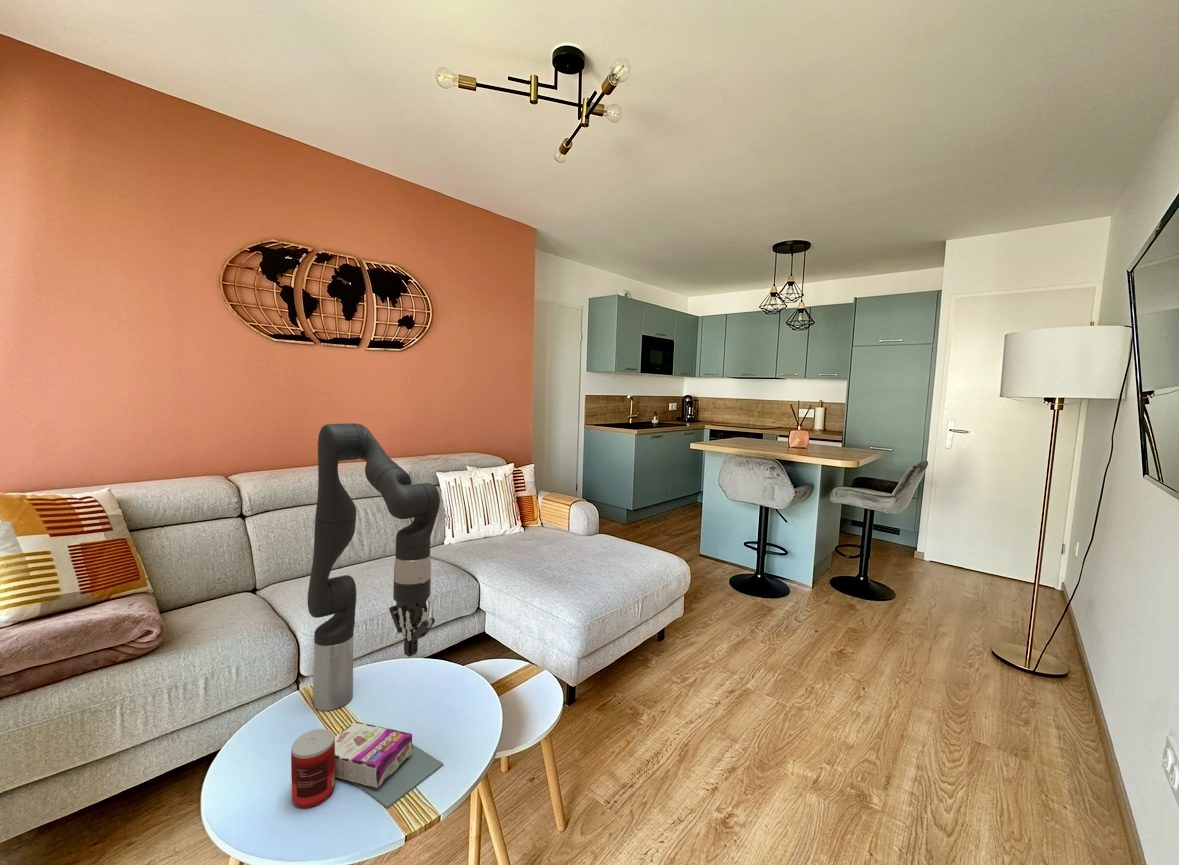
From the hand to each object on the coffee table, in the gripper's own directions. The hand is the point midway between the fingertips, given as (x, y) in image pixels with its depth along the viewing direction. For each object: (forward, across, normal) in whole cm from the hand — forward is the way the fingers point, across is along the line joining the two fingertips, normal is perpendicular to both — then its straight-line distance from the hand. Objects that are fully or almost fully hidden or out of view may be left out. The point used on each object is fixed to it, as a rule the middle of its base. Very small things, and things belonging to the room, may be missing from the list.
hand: (410, 654), depth 103 cm
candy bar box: (+22, 0, -3) cm, 23 cm away
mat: (+26, -1, -2) cm, 26 cm away
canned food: (+26, -10, -15) cm, 32 cm away
